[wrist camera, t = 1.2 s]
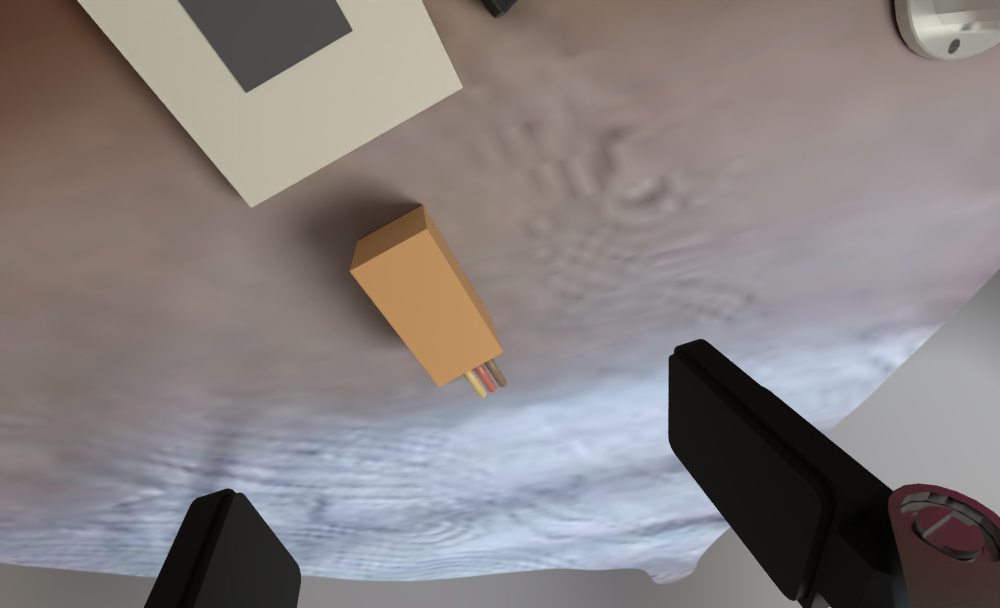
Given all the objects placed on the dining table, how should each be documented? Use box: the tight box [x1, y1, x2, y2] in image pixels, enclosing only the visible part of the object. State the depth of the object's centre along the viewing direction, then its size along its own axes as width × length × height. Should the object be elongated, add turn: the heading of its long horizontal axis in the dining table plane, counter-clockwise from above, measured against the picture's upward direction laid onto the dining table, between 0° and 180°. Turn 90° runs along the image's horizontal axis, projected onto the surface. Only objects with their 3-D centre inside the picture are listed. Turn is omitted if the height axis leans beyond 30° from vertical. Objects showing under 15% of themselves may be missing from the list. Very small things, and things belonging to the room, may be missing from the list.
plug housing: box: [350, 205, 507, 398], centre depth 30 cm, size 5×15×5 cm, turn 26°
